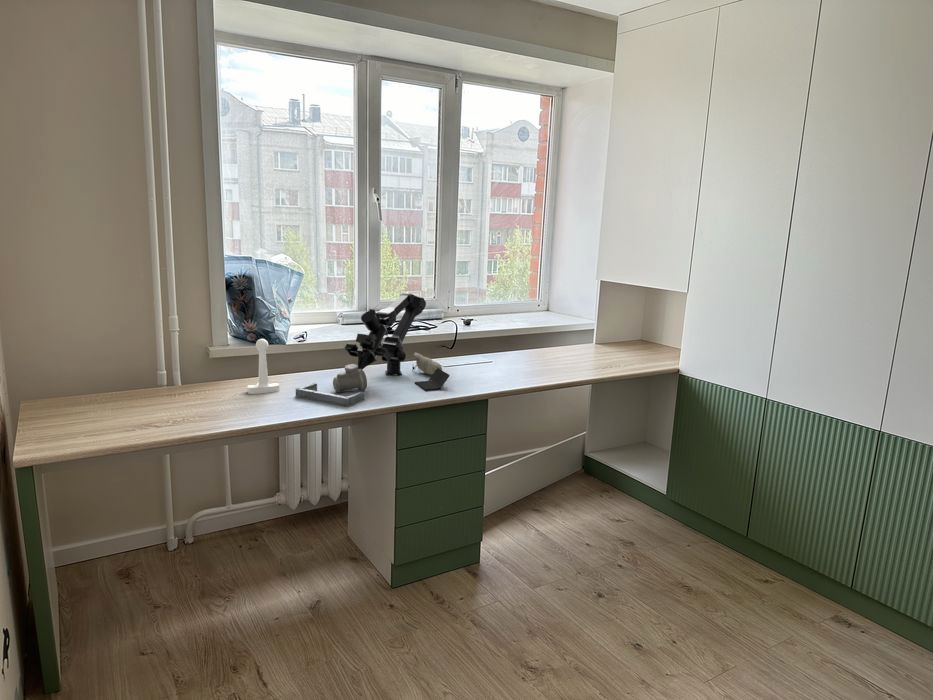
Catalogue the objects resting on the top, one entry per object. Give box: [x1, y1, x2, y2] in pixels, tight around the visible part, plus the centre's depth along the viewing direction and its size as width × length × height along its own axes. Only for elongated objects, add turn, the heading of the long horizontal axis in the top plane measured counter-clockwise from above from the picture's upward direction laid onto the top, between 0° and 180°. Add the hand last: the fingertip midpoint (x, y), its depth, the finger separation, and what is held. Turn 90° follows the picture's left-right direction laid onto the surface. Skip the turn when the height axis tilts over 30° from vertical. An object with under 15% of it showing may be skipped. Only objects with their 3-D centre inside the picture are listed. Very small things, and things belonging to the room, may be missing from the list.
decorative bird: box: [411, 352, 443, 376], centre depth 266 cm, size 6×17×8 cm, turn 43°
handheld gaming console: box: [414, 368, 450, 392], centre depth 247 cm, size 13×8×11 cm
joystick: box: [246, 338, 280, 395], centre depth 232 cm, size 11×8×20 cm
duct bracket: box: [295, 382, 366, 408], centre depth 227 cm, size 10×23×3 cm, turn 64°
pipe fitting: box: [332, 363, 368, 393], centre depth 237 cm, size 12×8×10 cm
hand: (358, 370), depth 241 cm, fingers closed
